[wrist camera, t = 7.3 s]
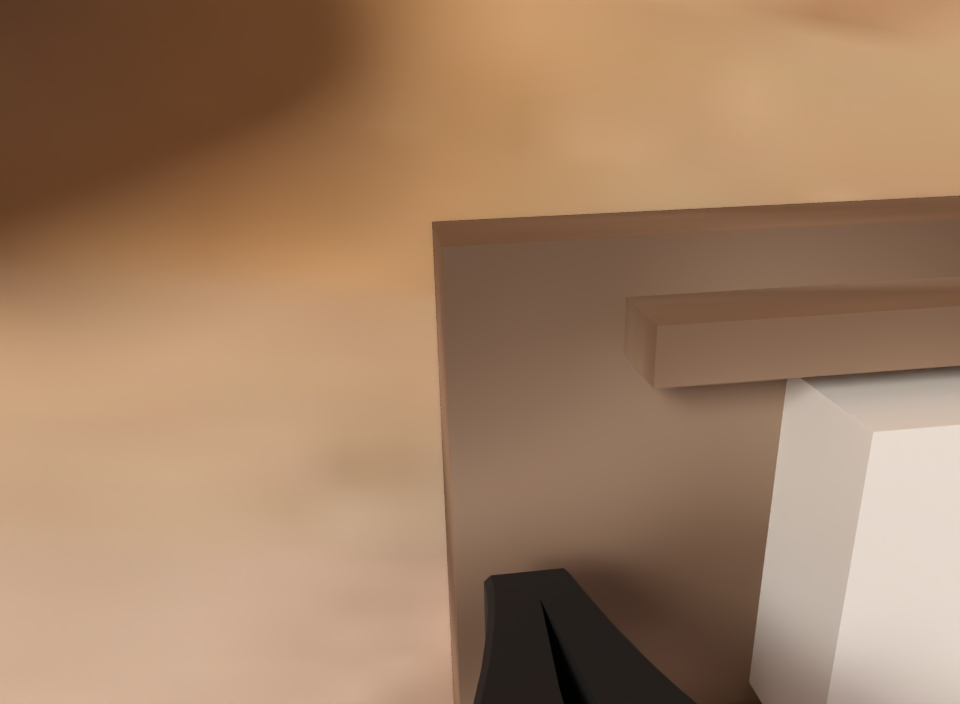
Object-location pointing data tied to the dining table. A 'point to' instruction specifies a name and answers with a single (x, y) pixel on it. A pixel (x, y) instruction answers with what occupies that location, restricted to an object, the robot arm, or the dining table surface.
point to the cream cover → (863, 543)
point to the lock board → (660, 400)
